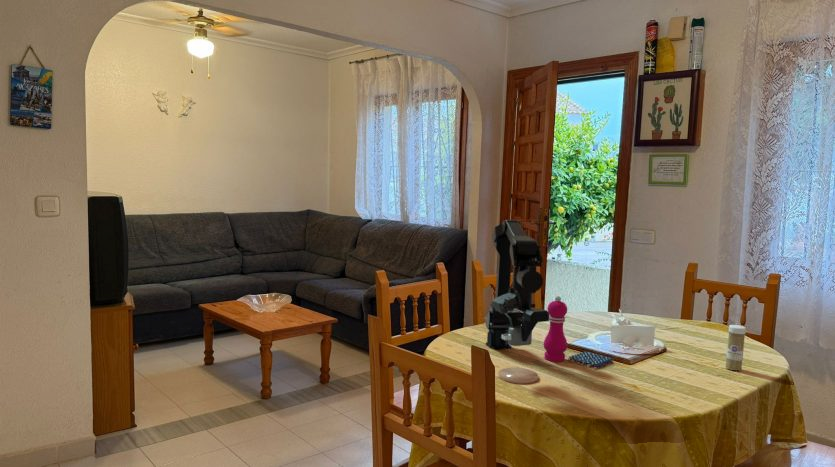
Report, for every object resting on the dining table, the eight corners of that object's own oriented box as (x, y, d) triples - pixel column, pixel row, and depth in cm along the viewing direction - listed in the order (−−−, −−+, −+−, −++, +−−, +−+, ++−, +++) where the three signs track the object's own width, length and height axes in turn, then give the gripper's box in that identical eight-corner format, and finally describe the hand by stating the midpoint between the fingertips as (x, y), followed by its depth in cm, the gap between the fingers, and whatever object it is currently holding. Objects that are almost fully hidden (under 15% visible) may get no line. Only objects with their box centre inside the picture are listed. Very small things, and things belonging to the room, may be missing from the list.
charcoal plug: (526, 340, 171) (526, 324, 170) (534, 344, 167) (535, 328, 167) (499, 343, 167) (499, 327, 167) (506, 347, 164) (507, 331, 163)
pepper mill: (567, 357, 188) (571, 295, 186) (565, 363, 181) (569, 299, 179) (544, 354, 190) (547, 292, 188) (541, 360, 184) (544, 297, 181)
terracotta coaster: (523, 368, 176) (523, 365, 176) (545, 381, 166) (545, 378, 166) (491, 372, 171) (491, 369, 171) (512, 385, 162) (512, 382, 161)
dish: (584, 349, 198) (586, 316, 197) (591, 331, 221) (593, 301, 220) (664, 360, 189) (666, 325, 188) (663, 339, 212) (665, 308, 211)
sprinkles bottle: (726, 370, 180) (729, 327, 178) (724, 365, 184) (728, 323, 183) (743, 372, 178) (747, 328, 177) (741, 368, 182) (745, 325, 181)
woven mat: (583, 355, 191) (584, 349, 191) (614, 364, 184) (614, 358, 184) (565, 362, 184) (566, 356, 184) (597, 371, 177) (597, 365, 176)
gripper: (480, 279, 171) (478, 332, 173) (516, 293, 154) (513, 351, 156) (513, 278, 175) (511, 329, 177) (552, 290, 159) (549, 347, 160)
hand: (520, 339), depth 167 cm, fingers closed on charcoal plug, 4 cm apart
